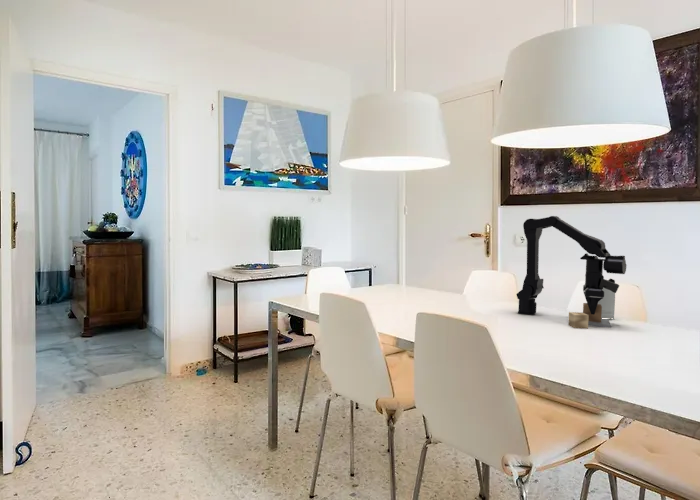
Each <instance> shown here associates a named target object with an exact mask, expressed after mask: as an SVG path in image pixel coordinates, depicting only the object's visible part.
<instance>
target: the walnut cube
mask: <svg viewBox="0 0 700 500" xmlns="http://www.w3.org/2000/svg"><path fill="white" fill-rule="evenodd" d="M582 305H583V306H582V313H585V314H587V315H589V318H588V321H591V322H601V314H602V306H601V304H597V308H596V311H595V314H594V315H593V314H591V312H590V309H589V307H588V304H587V302H583V304H582Z"/></svg>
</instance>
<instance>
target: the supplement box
mask: <svg viewBox="0 0 700 500" xmlns="http://www.w3.org/2000/svg"><path fill="white" fill-rule="evenodd" d="M602 290H603V291H604V297H603V299H601V300H600V301H599V302H598V304H601V306H602V314H601V318H613V319H612V320H615V306H616V305H615V304H616V293H614V292H612V291H610V290H608V289H605V288H603V289H602Z"/></svg>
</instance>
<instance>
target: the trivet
mask: <svg viewBox="0 0 700 500" xmlns="http://www.w3.org/2000/svg"><path fill="white" fill-rule="evenodd" d="M588 326H590V327H591V326H592V327H604V328H605V327H606V328H612V323H611V321H610V319H602V318H601V322H591V321H588Z"/></svg>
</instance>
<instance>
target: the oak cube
mask: <svg viewBox="0 0 700 500" xmlns="http://www.w3.org/2000/svg"><path fill="white" fill-rule="evenodd" d="M588 318H589V315H587V314H585V313H583V312H578V311H575V312H573V311H569V312H568V321H567V322H568V324H567V325H568V326H569V327H571V328H573V329H589V325H588Z"/></svg>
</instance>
